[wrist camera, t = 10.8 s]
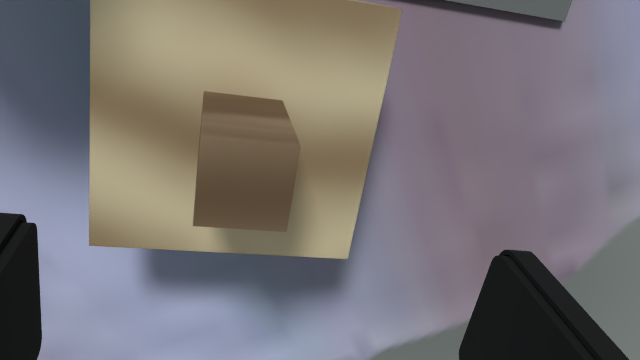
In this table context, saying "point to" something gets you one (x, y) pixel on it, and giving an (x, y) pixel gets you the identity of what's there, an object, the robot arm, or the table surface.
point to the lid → (234, 122)
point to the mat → (527, 7)
